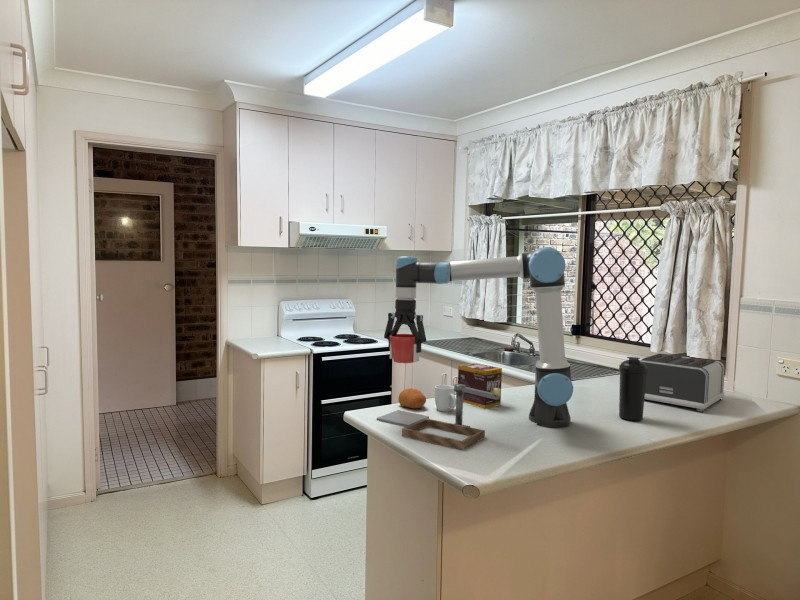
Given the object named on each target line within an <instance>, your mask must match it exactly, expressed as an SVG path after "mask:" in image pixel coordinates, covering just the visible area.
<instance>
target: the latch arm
mask: <svg viewBox="0 0 800 600" xmlns="http://www.w3.org/2000/svg"><path fill="white" fill-rule="evenodd" d="M453 386H454V391H455V393H456V392H466V393H471V394H475V395H479V396H483V397H487V398H491V399H495V400H498V399H500V397H501V398H502V388H501V389H500V388H494V390H493V393H490V392H486V391H482V390H477V389H473V388H469V387H466V385H463V384H458V383H456V384H454V385H453Z"/></svg>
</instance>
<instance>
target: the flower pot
mask: <svg viewBox="0 0 800 600" xmlns="http://www.w3.org/2000/svg"><path fill="white" fill-rule="evenodd" d="M390 343H391V349H392V355H393V362H394V363H397V364H412V363H414V362H413V358H414V344H415V343H416V342H415V337H413V335H412V333H397V334H396V336H394V337H393V336H392V335H390Z"/></svg>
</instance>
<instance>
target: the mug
mask: <svg viewBox="0 0 800 600" xmlns="http://www.w3.org/2000/svg"><path fill="white" fill-rule="evenodd" d="M455 395H456V392H455V391H454V385H449V384H438V385H435V386H434V401H435V403H434V404H435V406H436V408H437V410H438V411H439V412H450V411H451V410H452V409H456V396H455Z"/></svg>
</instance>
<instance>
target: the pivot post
mask: <svg viewBox="0 0 800 600" xmlns="http://www.w3.org/2000/svg"><path fill="white" fill-rule="evenodd" d="M455 395H456V396H455V398H456V406H455V423H454V424H457V425H461V426H466V427H471V425H466V424H463V408H464V406H463V405H464V402H463V392H455Z"/></svg>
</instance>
